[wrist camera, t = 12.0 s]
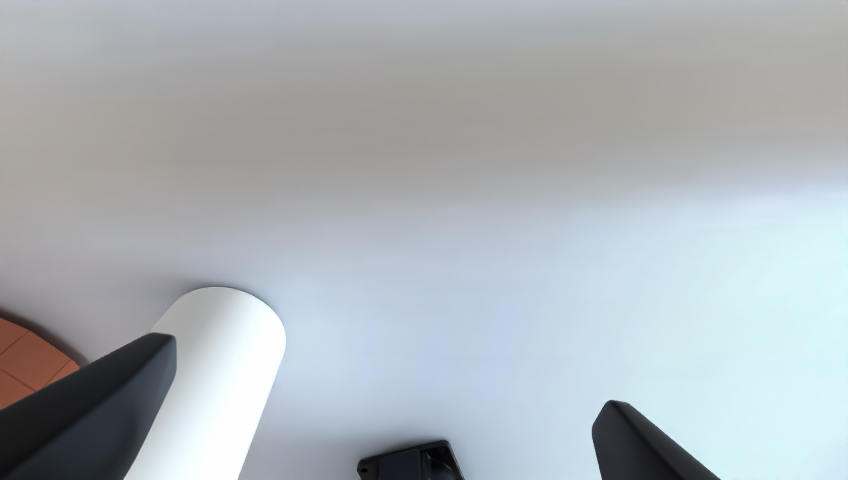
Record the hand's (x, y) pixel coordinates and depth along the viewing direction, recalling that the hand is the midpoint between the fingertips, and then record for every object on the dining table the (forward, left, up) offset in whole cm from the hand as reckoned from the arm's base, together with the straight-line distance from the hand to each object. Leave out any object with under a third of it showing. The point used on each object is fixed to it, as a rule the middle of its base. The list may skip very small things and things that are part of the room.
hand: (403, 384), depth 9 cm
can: (-5, +12, -13) cm, 18 cm away
